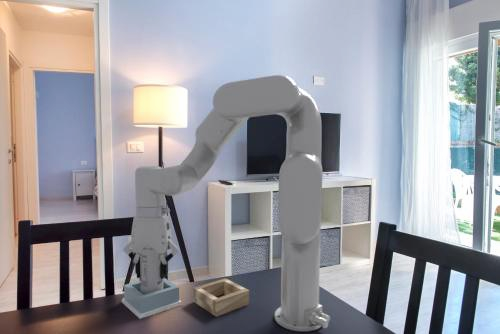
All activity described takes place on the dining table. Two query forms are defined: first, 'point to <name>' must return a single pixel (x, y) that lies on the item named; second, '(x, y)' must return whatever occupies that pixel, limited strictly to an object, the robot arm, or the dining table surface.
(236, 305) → the wooden open box
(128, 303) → the port socket
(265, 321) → the dining table surface
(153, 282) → the energy drink can
